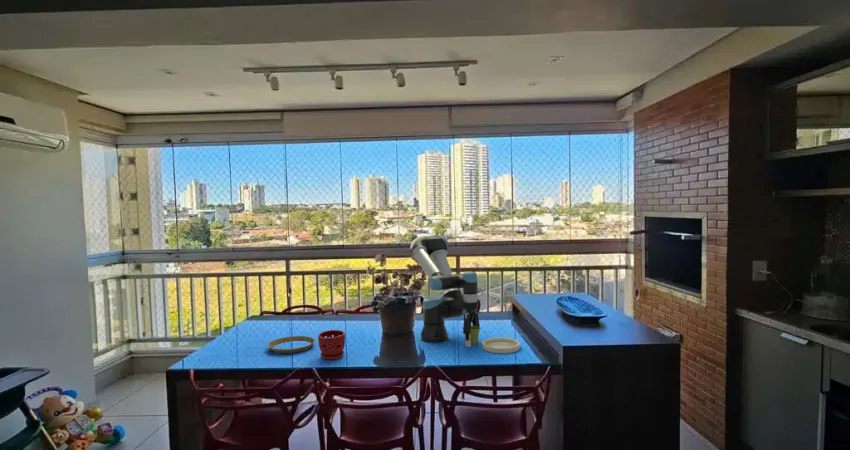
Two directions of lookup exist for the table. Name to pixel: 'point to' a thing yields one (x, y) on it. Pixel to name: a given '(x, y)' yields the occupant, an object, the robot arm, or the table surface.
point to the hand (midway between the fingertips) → (472, 343)
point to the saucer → (500, 345)
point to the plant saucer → (288, 339)
